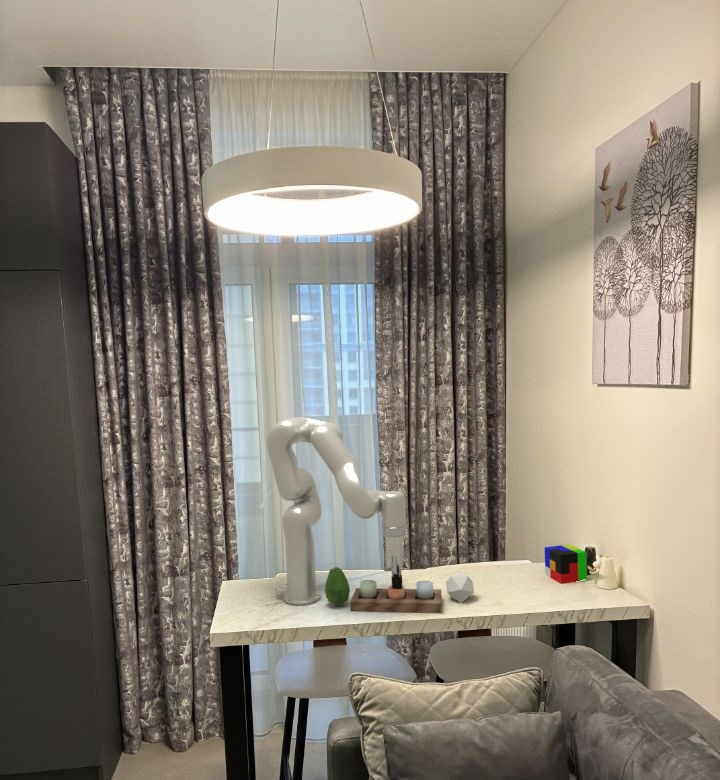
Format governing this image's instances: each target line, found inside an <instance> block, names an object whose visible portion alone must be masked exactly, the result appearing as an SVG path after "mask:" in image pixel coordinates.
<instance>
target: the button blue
mask: <svg viewBox="0 0 720 780" xmlns="http://www.w3.org/2000/svg"><path fill="white" fill-rule="evenodd" d="M415 586H416V588H415V589H417V597H418V598H420V599H430V598H432V597H433V589H434V583H433V582H432V581H430V580H419V581H417V582H416V584H415Z"/></svg>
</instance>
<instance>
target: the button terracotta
mask: <svg viewBox="0 0 720 780" xmlns="http://www.w3.org/2000/svg"><path fill="white" fill-rule="evenodd" d="M387 589H388V598H389V599H405V589H406V588H405V587H404V586H403V585H402V589H392V585H390V586H388V588H387Z"/></svg>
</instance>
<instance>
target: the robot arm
mask: <svg viewBox="0 0 720 780" xmlns="http://www.w3.org/2000/svg"><path fill="white" fill-rule="evenodd" d="M343 438H344V437H343V431H342V428H341V427H340V426H338V424H335V423H334V422H329V421H323V420H318V419H313V418H309V417H305V416H304V417H302V416H298V417H291V418H285V419H283V420H280V421H279V422H277V423H276V424H275V425H274V426H273V427H272V428H271V429H270V431H269V432H268V435H267V438H266V449H267V452H268V453H267V454H268V457H269V459H270V463H271V467H272V473H273V476H274V481H275V485H276V487H277V491H278V494H279V496H280V497H281V498H282V500H284V501H286V502H287V501H289V502H292V503H293V504H291V505H289V506H288V508H287V509H286V510H285V511H284V513H283V515H282V520H281V521H282V522H281V523H282V529H283V534H284V542H285V543H284V545H285V560H286V562H285V563H286V566H285V567H286V584H284V585H283V584H282V585H281V584H276V585H275V592H276V593H277V594H282V593H283V595H282V601H283V602H284V603H286V604H289V605H293V606H304V605H309V604H310V605H311V604H313V603H314V604H315V603H316V602H318V601H319V600H320V599H321V597H322V593H321V591H320V590H317V579H316V578H317V577H316V554H315V553H316V551H315V540H314V535H313V531H312V527H313V526H315V525H316V524H317V523H318V522H319V521H320V519H321V518H322V512H323V510H322V506H321V505H322V504H321V502H320V501H321V500H320V497H319V493H318V491H317V486H316V483H315V478H314V477H313V475H312V474H311V473H310V472H309V471H308V469H305V468H302V467H301V468H300V467H299V463H298V459H297V457H296V453H295V452H294V449H293V445H294V444H298V443H301V442H302V443H308V444H311V445H312V446H313V448H314V449H315V451H316V452H317V453H318V455H319V456H320V457H321V459H322V461H323V462H324V463H325V465H326V466H327V467H328V469H329V470H330V473H332V474H333V477H334V479H335V483H336V486H337V488H338V491H339V493H340V494H341V495H340V496H342V499H343V500H344V501H345V502H346V504H347V506H348V507H349V508H350V510H351V511H352V512H353V514H354V515H356V516H357V517H358V518H360V519H363V520H367V519H368V520H369V519H370V518H373V517H374V516H375V515H376V514H378V513H381V525H382V526H381V527H382V537H383V538H385V567H386V568H385V569H386V570H390V569H391V576H390V577H391V586H392V589H402V586H403V575H402V568H403V564H404V555H405V554H404V553H405V552H404V538H405V537H406V536H407V522H406V521H407V518H406V517H407V516H406V514H407V513H406V500H405V499H406V498H405V494H404V493H403V492H402V491H399V490H389V491H386V490H385V491H384V490H378V489H369V490H366V489H365V487H364V486H363V485H362V483H361V481H360V479H359V477H358V474H357V463H356V460H355V457H354V456H353V455H352V453H351V452H350V451H349V449H348V448H347V446H346V445H345V444H344V443H343V442H344V441H343Z"/></svg>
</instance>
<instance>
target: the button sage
mask: <svg viewBox="0 0 720 780" xmlns="http://www.w3.org/2000/svg"><path fill="white" fill-rule="evenodd" d="M359 588H360V596H361V597H363V598H373V597H375V596H376V595H377V590H376V589H377V581H376V580H374V579H364V580H361V581H360V582H359Z"/></svg>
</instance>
